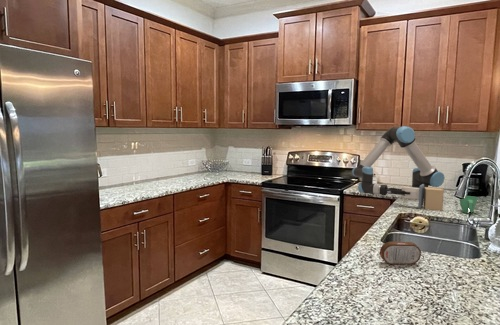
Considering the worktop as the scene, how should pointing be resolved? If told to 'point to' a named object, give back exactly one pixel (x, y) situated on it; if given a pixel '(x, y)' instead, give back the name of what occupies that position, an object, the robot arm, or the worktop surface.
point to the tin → (400, 253)
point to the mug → (468, 203)
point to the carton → (433, 198)
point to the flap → (419, 194)
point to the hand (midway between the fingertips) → (416, 193)
